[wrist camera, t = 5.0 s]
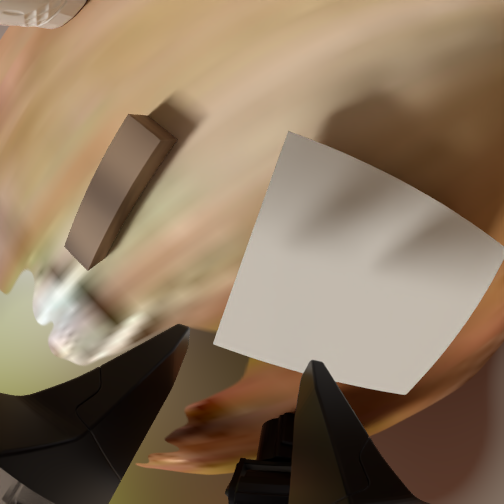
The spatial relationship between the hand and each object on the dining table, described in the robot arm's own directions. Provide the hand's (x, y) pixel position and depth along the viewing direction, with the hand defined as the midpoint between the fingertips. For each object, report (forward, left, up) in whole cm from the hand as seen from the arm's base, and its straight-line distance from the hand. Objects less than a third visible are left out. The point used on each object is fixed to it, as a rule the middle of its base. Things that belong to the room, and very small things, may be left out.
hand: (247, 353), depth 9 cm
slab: (0, -6, -8) cm, 10 cm away
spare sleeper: (0, +12, -11) cm, 16 cm away
